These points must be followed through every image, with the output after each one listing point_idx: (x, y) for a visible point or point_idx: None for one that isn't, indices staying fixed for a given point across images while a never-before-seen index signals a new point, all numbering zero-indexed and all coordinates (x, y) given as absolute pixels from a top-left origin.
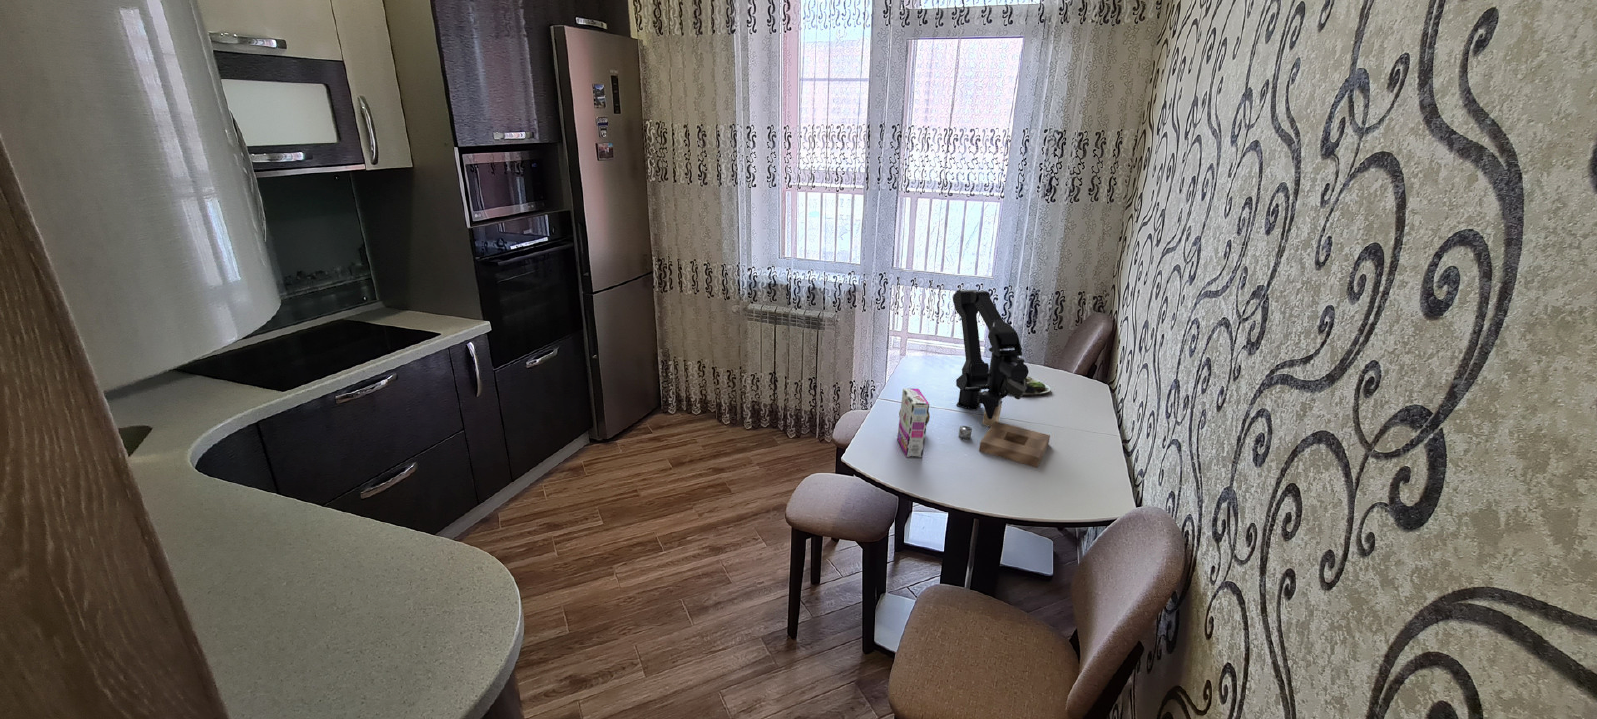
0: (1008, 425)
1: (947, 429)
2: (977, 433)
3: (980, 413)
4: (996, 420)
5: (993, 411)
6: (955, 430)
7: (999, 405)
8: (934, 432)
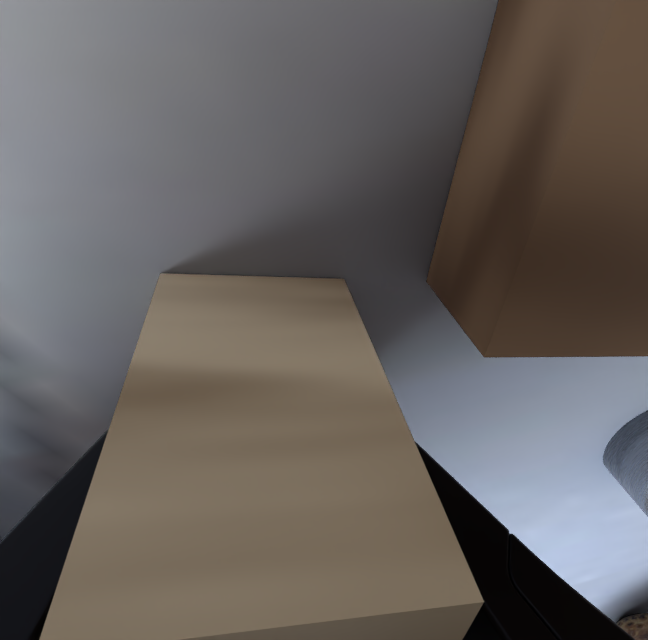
0: (614, 110)
1: (538, 544)
2: (559, 388)
3: (37, 490)
4: (368, 339)
5: (503, 533)
6: (542, 511)
7: (353, 623)
8: (600, 569)
